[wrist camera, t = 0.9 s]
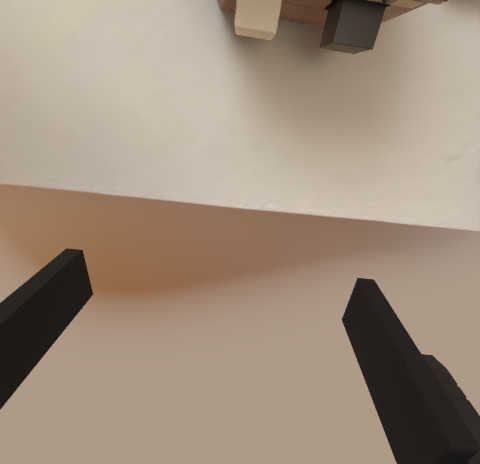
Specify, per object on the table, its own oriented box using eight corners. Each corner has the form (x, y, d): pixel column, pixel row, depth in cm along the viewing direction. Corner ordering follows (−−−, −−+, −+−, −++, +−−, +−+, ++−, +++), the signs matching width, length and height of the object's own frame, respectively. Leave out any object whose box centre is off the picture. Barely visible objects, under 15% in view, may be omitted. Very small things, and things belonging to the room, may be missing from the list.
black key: (319, 48, 22) (332, 42, 18) (334, -17, 20) (351, -35, 16) (354, 54, 22) (372, 49, 19) (372, -10, 20) (397, -27, 17)
